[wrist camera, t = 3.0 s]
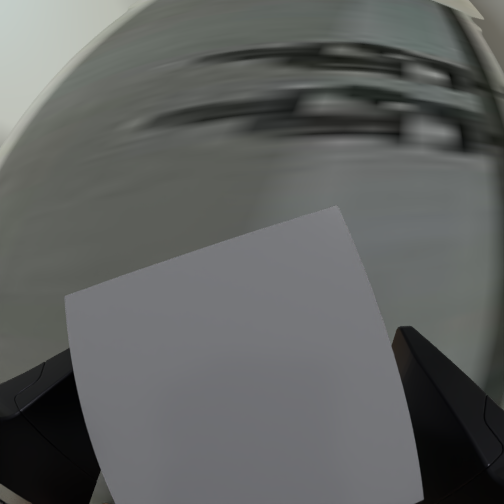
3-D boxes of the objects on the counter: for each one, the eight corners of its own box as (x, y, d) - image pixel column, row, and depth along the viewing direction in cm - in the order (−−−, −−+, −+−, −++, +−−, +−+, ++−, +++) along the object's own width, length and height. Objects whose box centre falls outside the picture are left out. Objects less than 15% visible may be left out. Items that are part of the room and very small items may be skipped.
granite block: (347, 410, 10) (423, 499, 2) (230, 440, 10) (134, 541, 3) (313, 298, 12) (337, 205, 4) (200, 332, 12) (64, 295, 4)
